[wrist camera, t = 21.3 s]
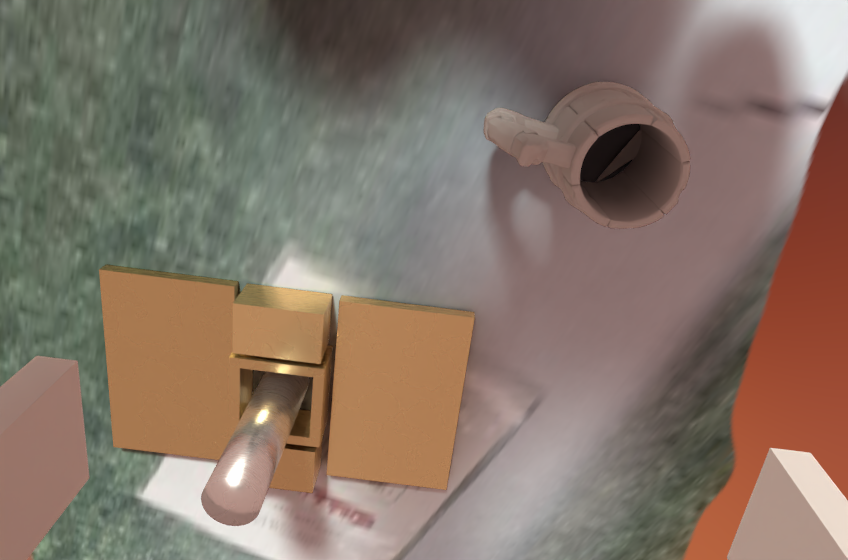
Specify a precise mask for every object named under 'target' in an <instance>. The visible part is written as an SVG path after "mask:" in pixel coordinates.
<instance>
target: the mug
mask: <svg viewBox="0 0 848 560" xmlns="http://www.w3.org/2000/svg"><path fill="white" fill-rule="evenodd" d="M627 124H639V125H640V128H641V129H640V130H639V131H638V132H637V133H636V134H635V136H634V137H633V138H632V139H631V140H630V141H629V143H628V144H627V145H626V146H625V147H624V148H623V150H622V151H621V152H620V153H619V154H618V155H617V157H616V158H615V159H614V160H613V161H612V162H611V164H610V165H609V166H608V167H607V168H606V169H605V171H604V172H603V173H602V174H601V175H600V176H599V178H598V179H597V180H596V181H595V182H586V181H582V180H580V172H581V166H582V163H583V160H584V158H585V155H586V153H587V152H588V150H589V149H590V147H591V146H592V145H593V143H594V142H595V141H596V140H597V139H598V137H599V136H601V135H603V134H605V133H606V132H608V131H610V130H612V129H614V128H616V127H619V126H622V125H627ZM484 134H485V138H486V139H487V140H489V141H492V142H493V143H494V144H496V145H497V146H498V147H499V148H500V149H502V150H504V151H505V152H506V153H508V154H510V155H511V156H514V157H515V158H516V159H517V161H518V163H519V165H520V166H530V165H531V164H533V165H538V164H540V163H541V162H543V165H544V167H545V170H546V172H547V174H548V175H549V176H550V180H551V181H552V183H553V184H554V185H555V186H558V187H559V188H560V189H561V190H562V192H563V194H564V198H565V199H566V201H567V202H568V203H569V204H570V205H572V206H573V207H575V208H577V209H578V210H579V211H581V212H583V213H584V214H586V215H587V216H588V217H589V218H590V219H592V220H593V221H595V222H596V223H598V224H600V225H602V226H605V227H606V226H608V227H609V228H618V229H624V228H638V227H642V226H646V225H648V224H651V223H653V222H656V221H658V220H659V219H661V218H662V217H664V214H667V213H668V212H669V211H670V210H671V209H672V208H673V207H674V206H675V205H676V204H677V203H678V197H679V195H680V193H681V192H682V190H684V189H685V187H686V185H687V182H688V178H689V175H690V154H689V150H688V147H687V145H686V143H685V141H684V139H683V137H682V136H681V134H680V133H679V132H678V131H677V130H676V128H675V126H674V124H673V121H672V119H671V118H670V117H669V116H668V115H667V114H666V113H664V112H663V111H661V110H660V109H658V108H657V107H655V106H653V104H652V103H651V102H650V101H649V100H648V99H646V98H645V97H644V96H643V95H642V94H640V93H639V92H638V91H636V90H634V89H633V88H630V87H628V86H626V85H622V84H619V83H615V82H593V83H590V84H587V85H584V86H582V87H579V88H577V89H575V90H573V91H572V92H570V93H569V94H567V95H566V96H565V97H564V98H563V99H562V100H560V101H559V102H558V103H557V105H556V106H555V107H554V108H553V109H552V111H551V112H550V114H549V115H548V117H547V119H546V121H545V122H542V121H539V120H535V119H532V118H529V117H526V116H523V115H522V114H520V113H517V112H514V111H512V110H508V109H505V108H496V109H494V110H493V111H491V112H489V113H487V115H486V117H485V122H484ZM633 158H634V159H633ZM632 159H633V160H632ZM630 160H632V161H631V163H630V164H629V165H628V166H627V167H626V168H624V170H623V171H621V172H620V173H618V174H617V175H616V176H614V177H612V178H610V179H607V180H604V181H600V180H602V179H603V178H605V177H606V176H608V175H609V174H611V173H612V172H614V171H615V170H617V169H618V168H620V167H621V166H623V165H624V164H626V163H627V162H629V161H630ZM662 212H663V213H664V214H663V213H662Z"/></svg>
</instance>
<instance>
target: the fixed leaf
mask: <svg viewBox="0 0 848 560" xmlns="http://www.w3.org/2000/svg"><path fill="white" fill-rule="evenodd" d="M99 274H100V286H101V298H102V310H103V323H104V335H105V347H106V359H107V372H108V384H109V396H110V409H111V421H112V433H113V445H114V447H118V448H126V449H134V450H142V451H150V452H158V453H166V454H174V455H182V456H190V457H198V458H206V459H214V460H219V459H220V457H221V455H222V453H223V452H224V450H225V448H226V446H227V444H228V442H229V440H230V438H231V436H232V434H233V432H234V430H235V428H236V427H237V425H238V423H239V421H240V419H241V417H242V415H243V413H244V411H245V409H246V407H247V405H248V403H249V402H250V400H251V398H252V390H253V370H259V371H267V372H275V373H283V374H291V375H299V376H307V377H313V388H312V405H311V411H310V410H302V409H299V412H298V414H297V417H296V419H295V422H294V425H293V427H292V430H291V432H290V435H289V437H288V440H287V443H286V445H285V448H284V450H283V453H282V455H281V458H280V461H279V463H278V466H277V468H276V471H275V473H274V476H273V479H272V481H271V484H270V486H269V488H275V489H283V490H291V491H299V492H307V493H313V490H314V486H315V483H316V479H317V476H318V472H319V469H320V466H321V454H322V440H323V434H324V431H325V427H326V424H327V421H328V407H329V393H330V379H331V365H332V351H333V346H328V345H327V348H326V351H325V353H324V356H323V359H322V361H321V364H316V363H308V362H300V361H292V360H284V359H276V358H268V357H260V356H252V355H244V354H236V353H233V302H234V301H235V300H236V298H237V297H238V289H239V281H232V280H224V279H216V278H208V277H200V276H193V275H185V274H177V273H169V272H161V271H153V270H145V269H137V268H129V267H121V266H113V265H105V266H103V267H102V268H101V269H99Z"/></svg>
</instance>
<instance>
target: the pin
mask: <svg viewBox="0 0 848 560" xmlns="http://www.w3.org/2000/svg"><path fill="white" fill-rule="evenodd" d="M308 386H309V378H308V377H307V376H299V375H291V374H283V373H275V372H267V371H265V373H264V375H263V377H262V378H261V380H260V382H259V384H258V386H257V388H256V390H255V392H254V394H253V396H252V398H251V400H250V402H249V403H248V405H247V407H246V409H245V411H244V413H243V415H242V417H241V419H240V421H239V423H238V425H237V427H236V428H235V430H234V432H233V434H232V436H231V438H230V440H229V442H228V444H227V446H226V448H225V450H224V452H223V453H222V455H221V457H220V459H219V461H218V463H217V465H216V467H215V469H214V471H213V473H212V475H211V477H210V478H209V480H208V482H207V484H206V486H205V488H204V490H203V492H202V496H201V501H202V505H203V508H204V509H205V511H206V512H207V514H208V515H209V516H210V517H212V518H213V519H214V520H216V521H218V522H220V523H222V524H226V525H230V526H240V525H245V524H248V523H250V522H252V521H253V520H254V519H255V518H256V517H257V516H258V514H259V512H260V509H261V507H262V504H263V502H264V499H265V496H266V494H267V491H268V489H269V486H270V484H271V481H272V479H273V476H274V473H275V471H276V468H277V466H278V463H279V461H280V458H281V455H282V453H283V450H284V448H285V445H286V443H287V440H288V437H289V435H290V432H291V430H292V427H293V425H294V422H295V419H296V417H297V414H298V412H299V409H300V407H301V404H302V401H303V399H304V396H305V394H306V391H307V389H308Z"/></svg>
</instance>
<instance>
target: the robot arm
mask: <svg viewBox="0 0 848 560" xmlns="http://www.w3.org/2000/svg"><path fill="white" fill-rule="evenodd" d="M88 479H89V469H88V460H87V450H86V440H85V430H84V420H83V410H82V400H81V390H80V381H79V371H78V361H75V360H67V359H59V358H51V357H43V356H36V357H35V358H34V359H32V360H31V361H30V362H29V363H28V364H27V365H25V366H24V367H23V368H22V369H21V370H20V371H18V372H17V373H16V374H15V375H14V376H13V377H11V378H10V379H9V380H8V381H7V382H5V383H4V384H3V385H2V386H1V387H0V560H27V559H28V557H29V556H30V555H31V553H32V552H33V551H34V549H35V548H36V547H37V545H38V544H39V543H40V542H41V540H42V539H43V538H44V536H45V535H46V534H47V532H48V531H49V530H50V528H51V527H52V526H53V525H54V523H55V522H56V521H57V519H58V518H59V517H60V515H61V514H62V513H63V512H64V510H65V509H66V508H67V506H68V505H69V504H70V502H71V501H72V500H73V498H74V497H75V496H76V495H77V493H78V492H79V491H80V489H81V488H82V487H83V485H84V484H85V483H86V482H87V480H88ZM727 559H728V560H848V501H847V499H846V498H845V497H844V496H843V494H842V493H841V492H840V490H839V489H838V488H837V486H836V485H835V484H834V483H833V481H832V480H831V479H830V477H829V476H828V475H827V474H826V472H825V471H824V470H823V468H822V467H821V466H820V465H819V463H818V462H817V461H816V459H815V458H814V457H813V456H812V454H811V453H808V452H800V451H792V450H784V449H776V448H770V449H769V452H768V454H767V457H766V459H765V462H764V465H763V467H762V470H761V472H760V475H759V477H758V480H757V482H756V485H755V487H754V490H753V492H752V495H751V497H750V500H749V502H748V505H747V508H746V511H745V513H744V515H743V518H742V520H741V523H740V525H739V528H738V531H737V533H736V535H735V538H734V540H733V543H732V546H731V548H730V551H729V553H728V556H727Z"/></svg>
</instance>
